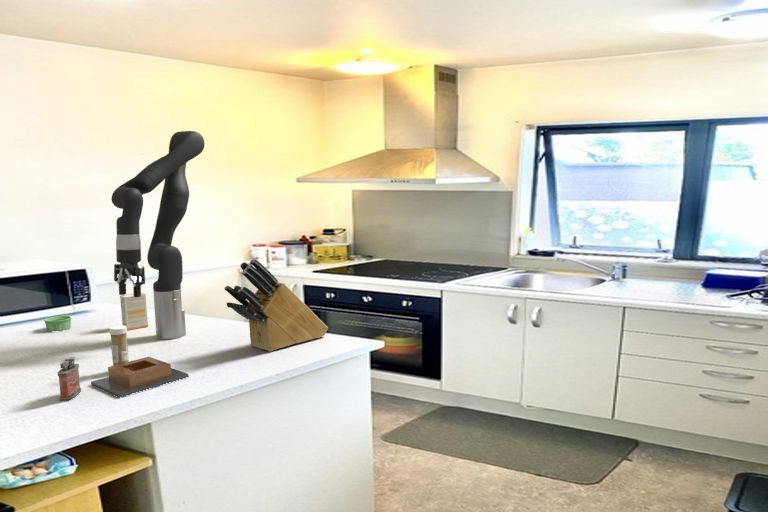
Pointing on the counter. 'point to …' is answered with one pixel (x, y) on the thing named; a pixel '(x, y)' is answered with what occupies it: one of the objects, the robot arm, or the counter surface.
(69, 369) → the lighter
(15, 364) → the counter surface
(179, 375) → the collar deck
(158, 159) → the robot arm
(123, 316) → the supplement box
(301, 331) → the knife block
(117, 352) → the spice jar
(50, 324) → the ramekin
